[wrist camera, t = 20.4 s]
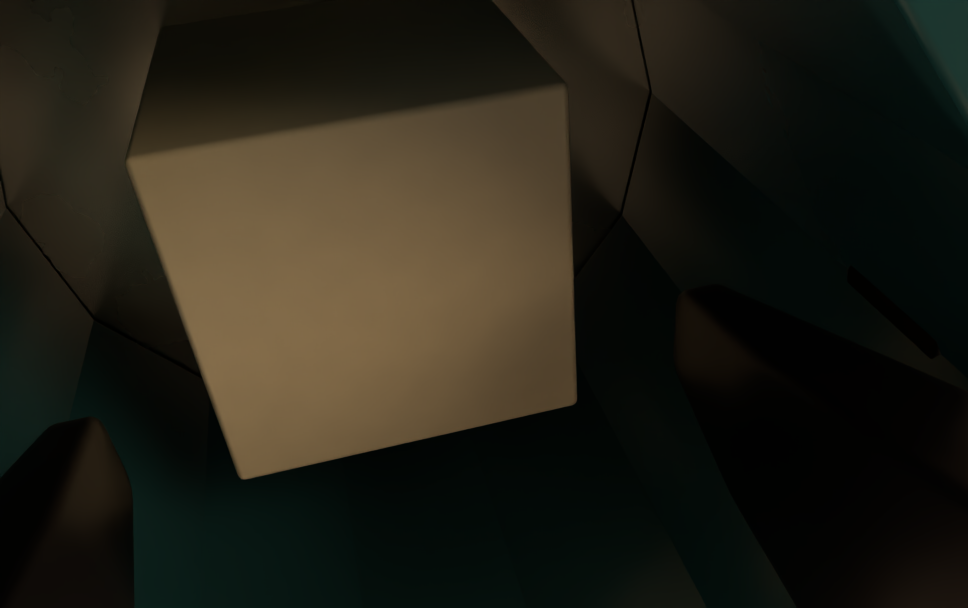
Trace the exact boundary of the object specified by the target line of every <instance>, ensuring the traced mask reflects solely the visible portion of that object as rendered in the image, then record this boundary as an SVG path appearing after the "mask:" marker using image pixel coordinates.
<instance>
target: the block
mask: <svg viewBox="0 0 968 608" xmlns="http://www.w3.org/2000/svg"><path fill="white" fill-rule="evenodd" d="M125 168H126V170H127V173H128V176H129V178H130V181H131V184H132V187H133V189H134V192H135V195H136V198H137V200H138V203H139V206H140V209H141V211H142V214H143V217H144V220H145V222H146V225H147V228H148V231H149V233H150V236H151V239H152V242H153V244H154V247H155V250H156V252H157V255H158V258H159V261H160V263H161V266H162V269H163V272H164V274H165V277H166V280H167V283H168V285H169V288H170V291H171V294H172V296H173V299H174V302H175V305H176V307H177V310H178V313H179V316H180V318H181V321H182V324H183V327H184V329H185V332H186V335H187V337H188V340H189V343H190V346H191V348H192V351H193V354H194V357H195V359H196V362H197V365H198V368H199V370H200V373H201V376H202V379H203V381H204V384H205V387H206V390H207V392H208V395H209V398H210V401H211V403H212V406H213V409H214V411H215V414H216V417H217V420H218V422H219V425H220V428H221V431H222V433H223V436H224V439H225V442H226V444H227V447H228V450H229V453H230V455H231V458H232V461H233V464H234V466H235V469H236V472H237V474H238V476H239V477H240V478H241V479H244V480H246V479H251V478H255V477H260V476H264V475H268V474H273V473H277V472H281V471H286V470H290V469H295V468H299V467H303V466H308V465H312V464H317V463H321V462H325V461H330V460H334V459H339V458H343V457H347V456H352V455H356V454H360V453H365V452H369V451H374V450H378V449H382V448H387V447H391V446H396V445H400V444H404V443H409V442H413V441H418V440H422V439H426V438H431V437H435V436H440V435H444V434H448V433H453V432H457V431H461V430H466V429H470V428H475V427H479V426H483V425H488V424H492V423H497V422H501V421H505V420H510V419H514V418H519V417H523V416H527V415H532V414H536V413H540V412H545V411H549V410H554V409H558V408H562V407H567V406H571V405H574V404H575V403H576V402H577V374H576V340H575V305H574V271H573V236H572V202H571V168H570V133H569V99H568V86H567V84H566V82H565V81H564V80H563V79H562V78H561V77H560V76H559V74H558V73H557V72H556V71H555V70H554V69H553V68H552V67H551V66H550V64H549V63H548V62H547V61H546V60H545V59H544V58H543V57H542V55H541V54H540V53H539V52H538V51H537V50H536V49H535V48H534V47H533V45H532V44H531V43H530V42H529V41H528V40H527V39H526V38H525V37H524V35H523V34H522V33H521V32H520V31H519V30H518V29H517V28H516V26H515V25H514V24H513V23H512V22H511V21H510V20H509V19H508V18H507V16H506V15H505V14H504V13H503V12H502V11H501V10H500V9H499V8H498V6H497V5H496V4H495V3H494V2H493V1H492V0H334V1H328V2H321V3H315V4H308V5H302V6H295V7H288V8H282V9H275V10H269V11H262V12H256V13H249V14H243V15H236V16H230V17H223V18H217V19H210V20H203V21H197V22H190V23H184V24H177V25H171V26H164V27H162V28H161V29H159V33H158V37H157V40H156V44H155V48H154V52H153V55H152V59H151V63H150V67H149V70H148V74H147V78H146V82H145V85H144V89H143V93H142V97H141V100H140V104H139V108H138V112H137V116H136V119H135V123H134V127H133V131H132V134H131V138H130V142H129V146H128V149H127V153H126V157H125Z"/></svg>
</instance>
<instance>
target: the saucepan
mask: <svg viewBox="0 0 968 608" xmlns="http://www.w3.org/2000/svg"><path fill="white" fill-rule="evenodd" d="M328 1H334V0H0V478H1V477H2V476H3V474H4V473H5V472H6V471H7V470H8V469H9V468H10V467H11V466H12V465H13V464H14V463H15V462H16V461H17V460H18V459H19V457H20V456H21V455H22V454H23V453H24V452H25V451H26V450H27V449H28V448H29V447H30V446H31V445H32V444H33V443H34V442H35V440H36V439H37V438H38V437H39V436H40V435H41V434H42V433H43V432H44V431H45V430H46V429H47V428H48V427H50V426H51V425H53V424H57V423H60V422H65V421H70V420H75V419H79V418H84V417H89V416H92V417H95V418H98V419H99V420H100V421H101V422H102V423H103V424H104V426H105V428H106V430H107V432H108V434H109V436H110V438H111V440H112V442H113V445H114V447H115V449H116V451H117V453H118V455H119V457H120V459H121V462H122V464H123V466H124V468H125V470H126V472H127V474H128V477H129V480H130V483H131V488H132V495H133V535H134V608H797V607H796V605H795V603H794V602H793V600H792V598H791V597H790V595H789V593H788V592H787V590H786V588H785V587H784V585H783V583H782V582H781V580H780V578H779V576H778V575H777V573H776V571H775V570H774V568H773V566H772V565H771V563H770V561H769V560H768V558H767V556H766V554H765V553H764V551H763V549H762V548H761V546H760V544H759V543H758V541H757V539H756V538H755V536H754V534H753V532H752V531H751V529H750V527H749V526H748V524H747V522H746V521H745V519H744V517H743V516H742V514H741V512H740V510H739V508H738V507H737V505H736V503H735V501H734V499H733V498H732V496H731V494H730V492H729V489H728V487H727V485H726V483H725V481H724V479H723V477H722V475H721V472H720V470H719V468H718V466H717V463H716V461H715V459H714V457H713V454H712V452H711V450H710V448H709V445H708V443H707V441H706V439H705V436H704V434H703V432H702V429H701V427H700V425H699V423H698V420H697V418H696V416H695V414H694V411H693V409H692V407H691V405H690V402H689V400H688V398H687V396H686V393H685V391H684V389H683V387H682V384H681V382H680V380H679V377H678V375H677V372H676V369H675V364H674V357H673V349H674V331H675V314H676V302H677V299H678V296H679V295H680V294H681V293H682V292H683V291H684V290H688V289H693V288H697V287H702V286H707V285H712V284H719V285H722V286H725V287H727V288H729V289H732V290H734V291H736V292H739V293H741V294H743V295H746V296H748V297H750V298H752V299H755V300H757V301H759V302H762V303H764V304H766V305H769V306H771V307H773V308H776V309H778V310H780V311H783V312H785V313H787V314H790V315H792V316H794V317H797V318H799V319H801V320H803V321H806V322H808V323H810V324H813V325H815V326H817V327H820V328H822V329H824V330H827V331H829V332H831V333H834V334H836V335H838V336H841V337H843V338H845V339H848V340H850V341H852V342H854V343H857V344H859V345H861V346H864V347H866V348H868V349H871V350H873V351H875V352H878V353H880V354H882V355H885V356H887V357H889V358H892V359H894V360H896V361H898V362H901V363H903V364H905V365H908V366H910V367H912V368H915V369H917V370H919V371H922V372H924V373H926V374H929V375H931V376H933V377H936V378H938V379H940V380H943V381H945V382H947V383H949V384H952V385H954V386H956V387H959V388H961V389H963V390H966V391H968V0H492V1H493V2H494V3H495V4H496V5H497V6H498V8H499V9H500V10H501V11H502V12H503V13H504V14H505V15H506V16H507V18H508V19H509V20H510V21H511V22H512V23H513V24H514V25H515V26H516V28H517V29H518V30H519V31H520V32H521V33H522V34H523V35H524V37H525V38H526V39H527V40H528V41H529V42H530V43H531V44H532V45H533V47H534V48H535V49H536V50H537V51H538V52H539V53H540V54H541V55H542V57H543V58H544V59H545V60H546V61H547V62H548V63H549V64H550V66H551V67H552V68H553V69H554V70H555V71H556V72H557V73H558V74H559V76H560V77H561V78H562V79H563V80H564V81H565V82H566V84H567V86H568V99H569V133H570V168H571V202H572V236H573V271H574V305H575V340H576V374H577V402H576V403H575V404H574V405H571V406H567V407H562V408H558V409H554V410H549V411H545V412H540V413H536V414H532V415H527V416H523V417H519V418H514V419H510V420H505V421H501V422H497V423H492V424H488V425H483V426H479V427H475V428H470V429H466V430H461V431H457V432H453V433H448V434H444V435H440V436H435V437H431V438H426V439H422V440H418V441H413V442H409V443H404V444H400V445H396V446H391V447H387V448H382V449H378V450H374V451H369V452H365V453H360V454H356V455H352V456H347V457H343V458H339V459H334V460H330V461H325V462H321V463H317V464H312V465H308V466H303V467H299V468H295V469H290V470H286V471H281V472H277V473H273V474H268V475H264V476H260V477H255V478H251V479H246V480H244V479H241V478H240V477H239V476H238V474H237V472H236V469H235V466H234V464H233V461H232V458H231V455H230V453H229V450H228V447H227V444H226V442H225V439H224V436H223V433H222V431H221V428H220V425H219V422H218V420H217V417H216V414H215V411H214V409H213V406H212V403H211V401H210V398H209V395H208V392H207V390H206V387H205V384H204V381H203V379H202V376H201V373H200V370H199V368H198V365H197V362H196V359H195V357H194V354H193V351H192V348H191V346H190V343H189V340H188V337H187V335H186V332H185V329H184V327H183V324H182V321H181V318H180V316H179V313H178V310H177V307H176V305H175V302H174V299H173V296H172V294H171V291H170V288H169V285H168V283H167V280H166V277H165V274H164V272H163V269H162V266H161V263H160V261H159V258H158V255H157V252H156V250H155V247H154V244H153V242H152V239H151V236H150V233H149V231H148V228H147V225H146V222H145V220H144V217H143V214H142V211H141V209H140V206H139V203H138V200H137V198H136V195H135V192H134V189H133V187H132V184H131V181H130V178H129V176H128V173H127V170H126V168H125V157H126V153H127V149H128V146H129V142H130V138H131V134H132V131H133V127H134V123H135V119H136V116H137V112H138V108H139V104H140V100H141V97H142V93H143V89H144V85H145V82H146V78H147V74H148V70H149V67H150V63H151V59H152V55H153V52H154V48H155V44H156V40H157V37H158V33H159V29H161V28H162V27H164V26H171V25H177V24H184V23H190V22H197V21H203V20H210V19H217V18H223V17H230V16H236V15H243V14H249V13H256V12H262V11H269V10H275V9H282V8H288V7H295V6H302V5H308V4H315V3H321V2H328Z"/></svg>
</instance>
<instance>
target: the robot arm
mask: <svg viewBox="0 0 968 608" xmlns="http://www.w3.org/2000/svg"><path fill="white" fill-rule="evenodd" d="M673 357H674V364H675V369H676V372H677V375H678V377H679V380H680V382H681V384H682V387H683V389H684V391H685V393H686V396H687V398H688V400H689V402H690V405H691V407H692V409H693V411H694V414H695V416H696V418H697V420H698V423H699V425H700V427H701V429H702V432H703V434H704V436H705V439H706V441H707V443H708V445H709V448H710V450H711V452H712V454H713V457H714V459H715V461H716V463H717V466H718V468H719V470H720V472H721V475H722V477H723V479H724V481H725V483H726V485H727V487H728V489H729V492H730V494H731V496H732V498H733V499H734V501H735V503H736V505H737V507H738V508H739V510H740V512H741V514H742V516H743V517H744V519H745V521H746V522H747V524H748V526H749V527H750V529H751V531H752V532H753V534H754V536H755V538H756V539H757V541H758V543H759V544H760V546H761V548H762V549H763V551H764V553H765V554H766V556H767V558H768V560H769V561H770V563H771V565H772V566H773V568H774V570H775V571H776V573H777V575H778V576H779V578H780V580H781V582H782V583H783V585H784V587H785V588H786V590H787V592H788V593H789V595H790V597H791V598H792V600H793V602H794V603H795V605H796V607H797V608H968V391H966V390H963V389H961V388H959V387H956V386H954V385H952V384H949V383H947V382H945V381H943V380H940V379H938V378H936V377H933V376H931V375H929V374H926V373H924V372H922V371H919V370H917V369H915V368H912V367H910V366H908V365H905V364H903V363H901V362H898V361H896V360H894V359H892V358H889V357H887V356H885V355H882V354H880V353H878V352H875V351H873V350H871V349H868V348H866V347H864V346H861V345H859V344H857V343H854V342H852V341H850V340H848V339H845V338H843V337H841V336H838V335H836V334H834V333H831V332H829V331H827V330H824V329H822V328H820V327H817V326H815V325H813V324H810V323H808V322H806V321H803V320H801V319H799V318H797V317H794V316H792V315H790V314H787V313H785V312H783V311H780V310H778V309H776V308H773V307H771V306H769V305H766V304H764V303H762V302H759V301H757V300H755V299H752V298H750V297H748V296H746V295H743V294H741V293H739V292H736V291H734V290H732V289H729V288H727V287H725V286H722V285H719V284H712V285H707V286H702V287H697V288H693V289H688V290H684V291H683V292H682V293H681V294H680V295H679V296H678V299H677V302H676V314H675V331H674V349H673ZM0 608H134V535H133V495H132V488H131V483H130V480H129V477H128V474H127V472H126V470H125V468H124V466H123V464H122V462H121V459H120V457H119V455H118V453H117V451H116V449H115V447H114V445H113V442H112V440H111V438H110V436H109V434H108V432H107V430H106V428H105V426H104V424H103V423H102V422H101V421H100V420H99V419H98V418H95V417H92V416H89V417H84V418H79V419H75V420H70V421H65V422H60V423H57V424H53V425H51V426H50V427H48V428H47V429H46V430H45V431H44V432H43V433H42V434H41V435H40V436H39V437H38V438H37V439H36V440H35V442H34V443H33V444H32V445H31V446H30V447H29V448H28V449H27V450H26V451H25V452H24V453H23V454H22V455H21V456H20V457H19V459H18V460H17V461H16V462H15V463H14V464H13V465H12V466H11V467H10V468H9V469H8V470H7V471H6V472H5V473H4V474H3V476H2V477H1V478H0Z"/></svg>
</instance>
